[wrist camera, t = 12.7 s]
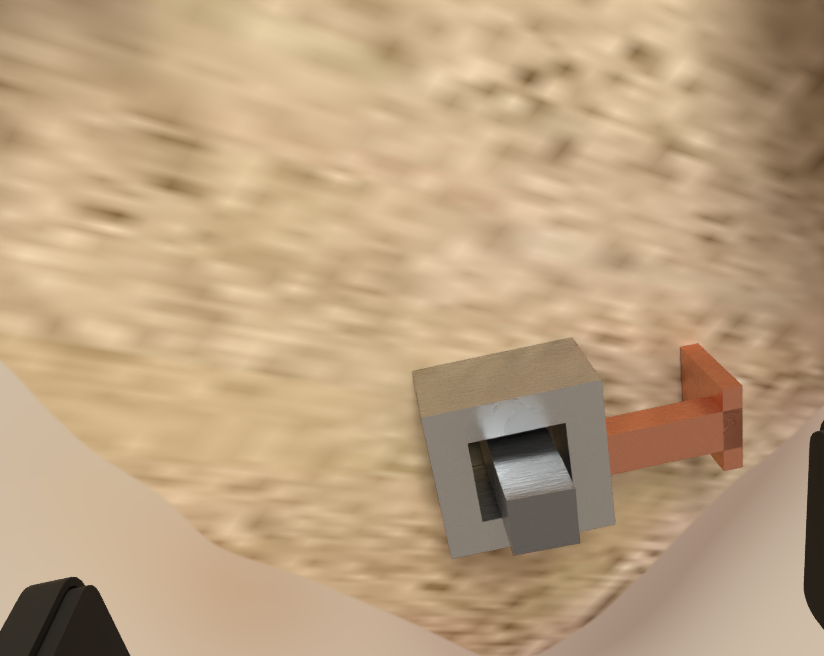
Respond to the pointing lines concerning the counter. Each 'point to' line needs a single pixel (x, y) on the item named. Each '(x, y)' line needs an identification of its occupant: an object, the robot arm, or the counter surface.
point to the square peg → (532, 491)
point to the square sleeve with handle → (563, 429)
